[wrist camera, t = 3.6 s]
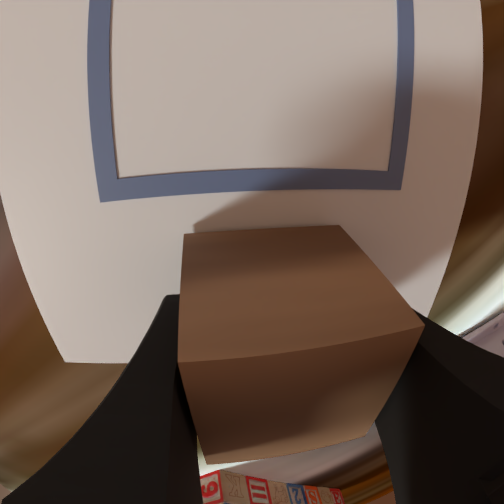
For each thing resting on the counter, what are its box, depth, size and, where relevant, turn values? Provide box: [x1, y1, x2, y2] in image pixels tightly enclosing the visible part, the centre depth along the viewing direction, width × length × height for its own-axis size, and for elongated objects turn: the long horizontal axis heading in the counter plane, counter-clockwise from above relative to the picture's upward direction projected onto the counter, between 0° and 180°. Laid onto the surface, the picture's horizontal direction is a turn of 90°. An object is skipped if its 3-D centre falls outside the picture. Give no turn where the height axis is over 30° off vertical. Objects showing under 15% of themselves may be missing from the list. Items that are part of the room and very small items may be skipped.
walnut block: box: [178, 225, 425, 465], centre depth 8 cm, size 4×4×4 cm
